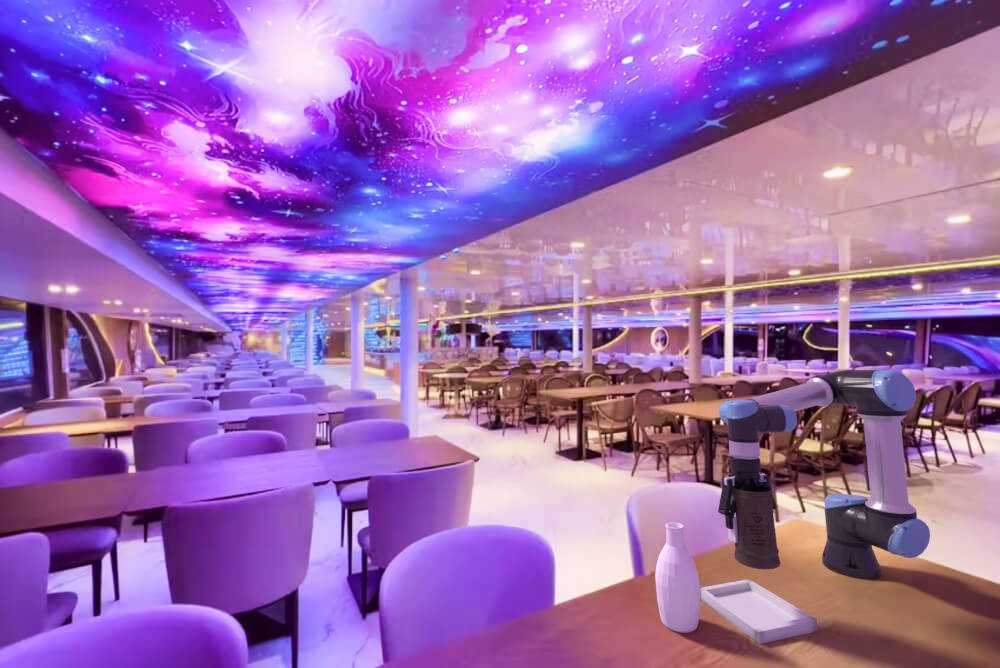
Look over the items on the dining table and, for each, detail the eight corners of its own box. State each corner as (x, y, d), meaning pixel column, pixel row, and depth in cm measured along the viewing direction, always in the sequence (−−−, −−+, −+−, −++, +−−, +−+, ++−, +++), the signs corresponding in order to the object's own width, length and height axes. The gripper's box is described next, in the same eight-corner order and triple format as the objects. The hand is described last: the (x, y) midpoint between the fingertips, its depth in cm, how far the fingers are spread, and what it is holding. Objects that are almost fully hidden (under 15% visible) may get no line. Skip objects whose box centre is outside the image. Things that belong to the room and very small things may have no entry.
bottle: (681, 641, 111) (676, 536, 112) (647, 618, 120) (643, 522, 122) (711, 627, 116) (706, 527, 117) (676, 607, 126) (672, 515, 127)
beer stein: (789, 571, 114) (781, 490, 116) (744, 570, 115) (737, 490, 117) (763, 549, 129) (756, 478, 131) (724, 549, 130) (718, 478, 133)
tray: (749, 588, 135) (748, 579, 135) (817, 630, 113) (816, 619, 113) (698, 598, 130) (697, 588, 130) (759, 644, 109) (758, 632, 109)
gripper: (766, 450, 131) (771, 528, 129) (700, 456, 125) (704, 538, 124) (789, 455, 123) (794, 538, 122) (720, 462, 118) (724, 548, 116)
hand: (749, 538), depth 123 cm, fingers closed on beer stein, 10 cm apart
